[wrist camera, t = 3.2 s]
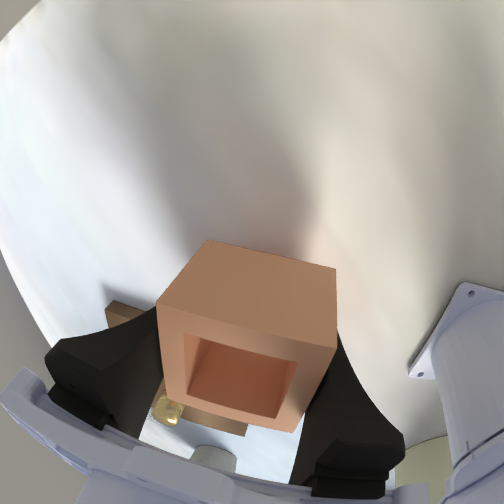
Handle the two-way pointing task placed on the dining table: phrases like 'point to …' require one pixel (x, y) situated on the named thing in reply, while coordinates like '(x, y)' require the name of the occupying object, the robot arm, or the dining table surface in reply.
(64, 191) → the dining table surface
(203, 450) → the house plant
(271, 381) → the open box
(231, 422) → the keeper
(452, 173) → the dining table surface
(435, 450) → the can
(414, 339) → the dining table surface
